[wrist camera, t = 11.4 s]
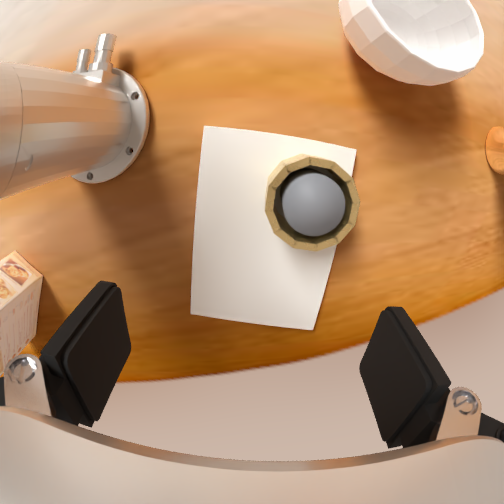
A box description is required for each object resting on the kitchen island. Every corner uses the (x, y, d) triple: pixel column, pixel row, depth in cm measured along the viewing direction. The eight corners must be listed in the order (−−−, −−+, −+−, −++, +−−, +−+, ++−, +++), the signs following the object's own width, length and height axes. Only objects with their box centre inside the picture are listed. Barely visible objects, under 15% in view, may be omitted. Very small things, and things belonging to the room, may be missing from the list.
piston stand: (206, 126, 25) (190, 122, 19) (353, 149, 25) (376, 152, 19) (192, 308, 32) (179, 341, 27) (311, 324, 32) (318, 359, 27)
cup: (384, 114, 23) (436, 108, 14) (300, 20, 20) (315, -28, 11) (452, 63, 20) (507, 50, 11) (380, -22, 16) (414, -62, 7)
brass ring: (271, 148, 24) (273, 150, 20) (349, 163, 24) (367, 168, 20) (260, 224, 27) (259, 243, 22) (334, 235, 27) (347, 256, 22)
